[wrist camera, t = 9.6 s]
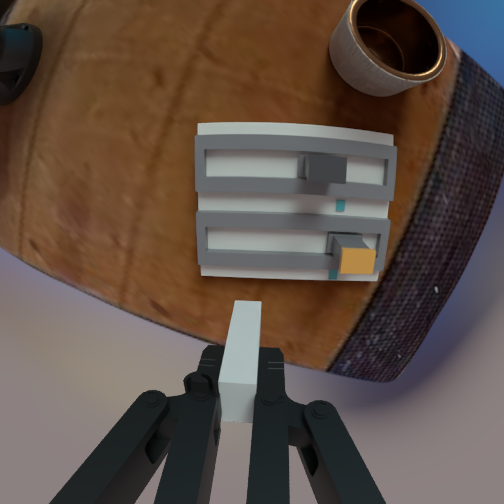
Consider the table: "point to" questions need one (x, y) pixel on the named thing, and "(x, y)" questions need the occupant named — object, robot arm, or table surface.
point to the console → (288, 199)
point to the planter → (387, 46)
